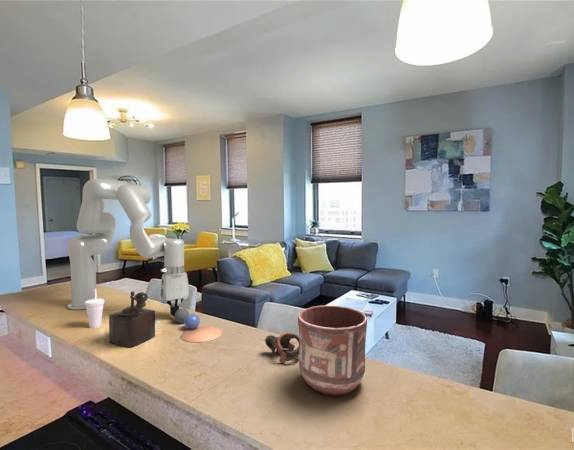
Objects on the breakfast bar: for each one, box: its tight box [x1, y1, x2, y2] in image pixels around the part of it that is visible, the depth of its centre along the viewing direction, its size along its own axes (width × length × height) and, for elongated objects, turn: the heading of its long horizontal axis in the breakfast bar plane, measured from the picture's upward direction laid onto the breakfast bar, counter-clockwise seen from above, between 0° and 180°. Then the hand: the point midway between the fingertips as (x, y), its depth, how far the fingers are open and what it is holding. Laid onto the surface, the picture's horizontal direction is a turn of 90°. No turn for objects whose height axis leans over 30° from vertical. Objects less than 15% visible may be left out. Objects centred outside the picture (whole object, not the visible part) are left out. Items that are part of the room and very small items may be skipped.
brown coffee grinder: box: [108, 290, 156, 348], centre depth 109 cm, size 16×11×18 cm
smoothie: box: [85, 288, 105, 329], centre depth 121 cm, size 6×6×14 cm
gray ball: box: [174, 307, 190, 324], centre depth 126 cm, size 6×6×6 cm
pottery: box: [297, 304, 368, 397], centre depth 84 cm, size 18×18×18 cm
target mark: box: [180, 326, 223, 343], centre depth 115 cm, size 14×14×1 cm
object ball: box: [184, 313, 201, 330], centre depth 120 cm, size 6×6×6 cm
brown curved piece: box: [264, 332, 300, 365], centre depth 99 cm, size 12×10×8 cm
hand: (174, 315), depth 130 cm, fingers closed
